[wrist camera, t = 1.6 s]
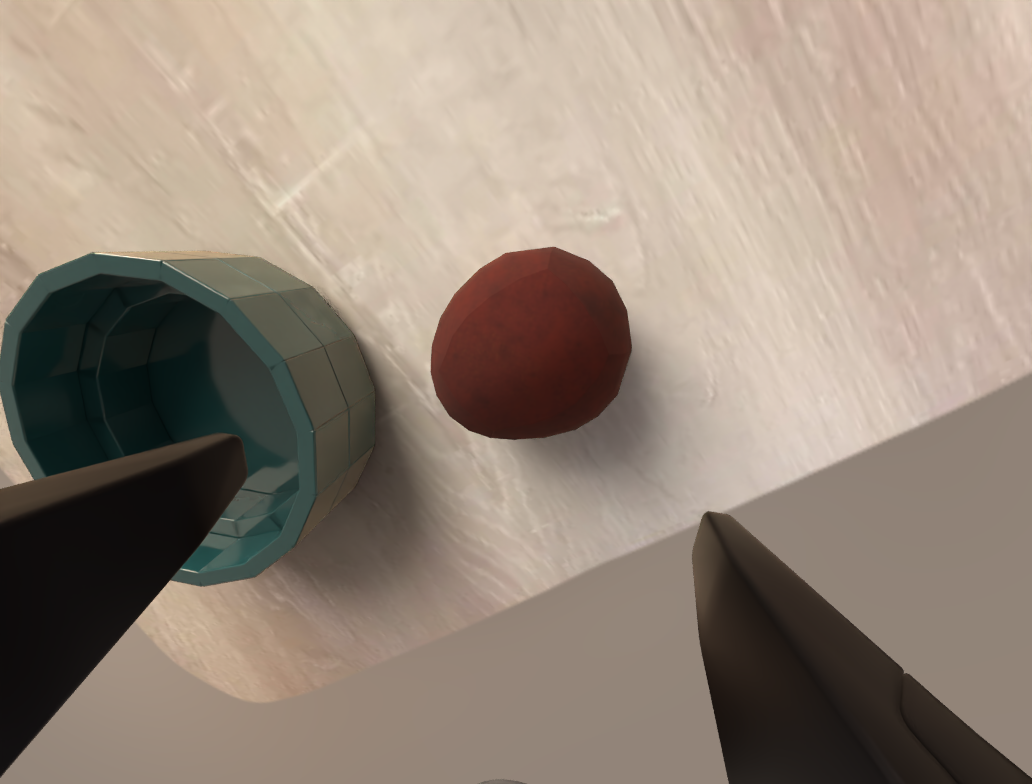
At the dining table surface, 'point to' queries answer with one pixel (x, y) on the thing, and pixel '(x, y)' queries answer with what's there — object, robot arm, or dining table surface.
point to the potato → (531, 346)
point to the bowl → (193, 386)
